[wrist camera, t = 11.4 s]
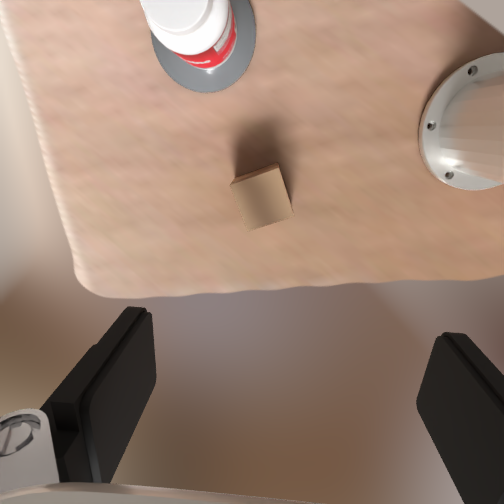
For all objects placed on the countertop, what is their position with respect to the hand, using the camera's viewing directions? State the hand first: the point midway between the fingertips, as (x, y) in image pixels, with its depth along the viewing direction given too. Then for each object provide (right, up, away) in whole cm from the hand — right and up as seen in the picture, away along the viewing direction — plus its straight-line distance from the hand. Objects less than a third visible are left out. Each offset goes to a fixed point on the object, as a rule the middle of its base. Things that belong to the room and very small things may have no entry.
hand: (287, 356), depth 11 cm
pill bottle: (-6, +24, +20) cm, 32 cm away
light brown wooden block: (0, +10, +26) cm, 28 cm away
